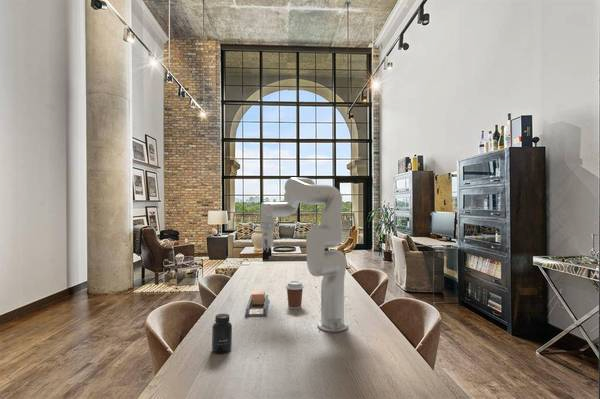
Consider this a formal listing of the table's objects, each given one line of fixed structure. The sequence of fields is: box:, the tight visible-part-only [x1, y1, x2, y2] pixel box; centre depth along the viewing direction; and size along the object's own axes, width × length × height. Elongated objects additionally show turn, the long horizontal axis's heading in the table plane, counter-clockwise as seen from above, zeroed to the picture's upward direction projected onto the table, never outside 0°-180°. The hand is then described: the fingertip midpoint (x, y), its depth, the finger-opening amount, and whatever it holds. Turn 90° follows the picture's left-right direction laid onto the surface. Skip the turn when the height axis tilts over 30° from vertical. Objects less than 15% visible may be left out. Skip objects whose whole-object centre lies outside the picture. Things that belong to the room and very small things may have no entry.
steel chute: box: [244, 294, 270, 317], centre depth 161 cm, size 22×10×4 cm, turn 3°
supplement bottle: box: [211, 313, 233, 355], centre depth 116 cm, size 7×7×12 cm
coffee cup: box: [285, 280, 305, 310], centre depth 163 cm, size 9×9×12 cm
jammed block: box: [251, 290, 266, 305], centre depth 166 cm, size 6×6×5 cm
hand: (267, 257), depth 176 cm, fingers open, 9 cm apart
